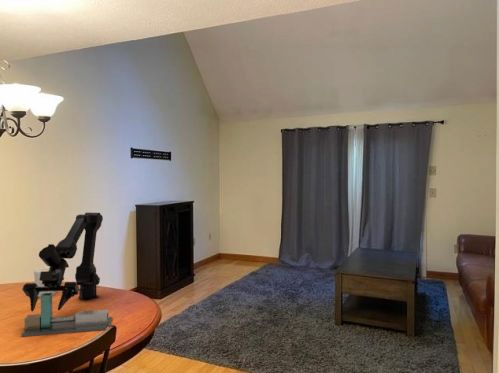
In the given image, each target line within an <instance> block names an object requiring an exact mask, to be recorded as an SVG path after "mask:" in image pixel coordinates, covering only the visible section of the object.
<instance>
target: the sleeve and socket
mask: <svg viewBox="0 0 499 373" xmlns="http://www.w3.org/2000/svg"><path fill="white" fill-rule="evenodd" d="M109 314H110V313H109V309H107V308H106V309H97V310H96V309H95V310H81V311H80V310H79V311H77V313H76V314H75V315H74V316H75V321H74V322H60V323H53V324H52V325H51V327H44V328H41V324H40V319H41V313H39V314H28V315H27V316H26V317H25V318H24V331H22V332H21V336H20V337H34V336H46V335H58V334H59V335H60V334H61V335H62V334H70V333H71V334H72V333H83V332H84V333H85V332H96V331H106V330H105V329H106V328H107V327H109V326H111V324H112V321H113V316H110V315H109ZM109 328H110V327H109Z"/></svg>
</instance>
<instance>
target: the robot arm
mask: <svg viewBox="0 0 499 373" xmlns="http://www.w3.org/2000/svg"><path fill="white" fill-rule="evenodd" d="M103 219H104V218H103V215H102V214H101V212H85V213H84V214H78V215H76V216H75V221H74V222H73V224H72V226H71V228H70V229H69V231H68V233H67V234H66V236H65V237H64V239H62V240H59V242H58V243H57V244H56V245H55V244H54V243H51V244H48V245H47V246H46V247H44V248H42V249H41V250H40V251H39V253H38V257H39V258H40V260H41V261H42V262H43V263H44V264H45V265H46V267H50V268H49V271H44V272H41V273H40V281H42V284H44V286H37V284H36V283H35V282H28V283H25V284H24V285H23V286H22V289H21V290H22V292H24V294H25V295H26V296H27V297H29V302H30V311H31V312H34V310H35V308H36V305H37V303H38V300H39V297H38V294H39V292H46V291H56V292H61V297H60V300H59V302H58V306H57V310H58V311H60V310H61V309H62V308H63V307H64V305H66V303H67V302H68V301H69V300H70V299H71V298H73V297H75V296H77V295H78V298H79V299H81V300H83V301H89V300H92V299H93V300H94V299H97V298H99V295H98V294H97V286H99V284H100V282H101V281H100V280H101V279H100V277H99V275H98V274H97V267H96V265H95V263H94V259H95V252H96V251H95V250H96V240H97V232H98V231H99V230H100V228H102V227H101V226H102V223H103ZM84 231H85V232H84ZM83 232H84V240H83V249H82V250H83V251H82V258H81V262H80V264H79V265H78V266H76V268H75V274H74V276H75V277H74V279H75V281H65V277H64V276H65V273H66V272H65V271H66V269H67V268H69V267H70V266H69V263H68V262H67V260H66V259H68V260H70V259H73V258H74V257H75V256H76V253H77V251H78V246H77V243H78V241H79V240H80V238H81V236H82V234H83ZM63 281H65V283H64V285H62V283H63Z"/></svg>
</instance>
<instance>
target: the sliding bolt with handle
mask: <svg viewBox="0 0 499 373" xmlns="http://www.w3.org/2000/svg"><path fill="white" fill-rule="evenodd" d="M40 314H41V319H40V324H41V328H44V327H51V325H52V324H53V323H60V322H74V321H75V315H68V316H67V315H66V316H65V315H64V316H54V317H53V295H52V293H43V294H42V295H41V297H40Z"/></svg>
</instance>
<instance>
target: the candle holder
mask: <svg viewBox="0 0 499 373" xmlns="http://www.w3.org/2000/svg"><path fill="white" fill-rule="evenodd" d="M49 268H50V266H44V267H38V268H35V269H34V270H33V276H34V277H33V278H34V283H36V284H37V286H44V284H42V281H40V273H41V272H44V271H49ZM43 293H52V296H54V295H56V294H57V291H46V292H39V294H38V298H41V295H42V294H43Z"/></svg>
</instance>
